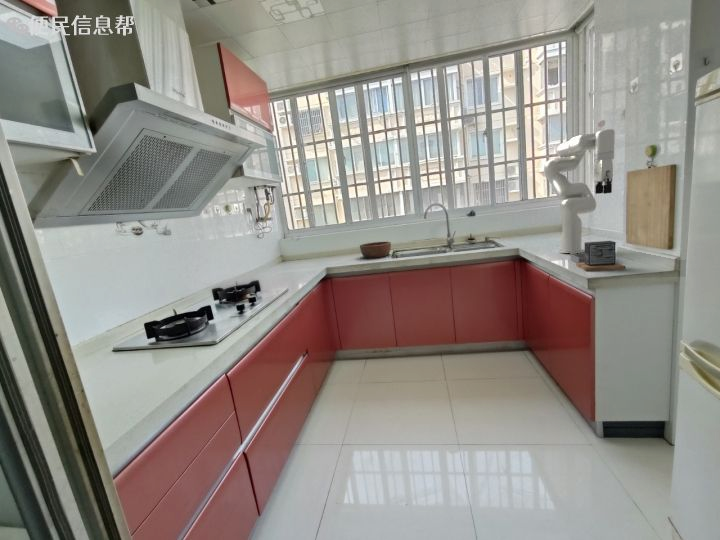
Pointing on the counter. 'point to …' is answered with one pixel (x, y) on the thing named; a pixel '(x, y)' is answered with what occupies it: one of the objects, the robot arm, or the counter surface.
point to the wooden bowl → (375, 249)
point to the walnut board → (600, 267)
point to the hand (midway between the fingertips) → (603, 193)
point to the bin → (580, 258)
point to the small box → (600, 253)
